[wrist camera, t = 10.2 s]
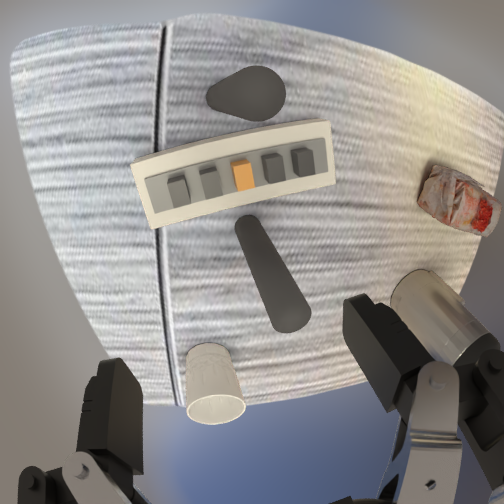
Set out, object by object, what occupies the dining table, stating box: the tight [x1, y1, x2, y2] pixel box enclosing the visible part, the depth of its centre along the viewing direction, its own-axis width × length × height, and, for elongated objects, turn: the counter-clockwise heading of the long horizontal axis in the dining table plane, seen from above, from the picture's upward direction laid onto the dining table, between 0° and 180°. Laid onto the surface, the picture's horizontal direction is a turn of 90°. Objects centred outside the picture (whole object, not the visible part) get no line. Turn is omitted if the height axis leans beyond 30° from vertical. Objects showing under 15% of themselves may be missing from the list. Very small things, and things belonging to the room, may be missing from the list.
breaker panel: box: [130, 118, 336, 230], centre depth 29 cm, size 20×7×5 cm, turn 101°
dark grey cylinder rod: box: [235, 215, 311, 333], centre depth 28 cm, size 3×3×16 cm
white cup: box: [186, 343, 246, 424], centre depth 40 cm, size 8×8×10 cm
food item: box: [417, 165, 502, 237], centre depth 35 cm, size 14×8×10 cm, turn 79°
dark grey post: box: [206, 66, 286, 121], centre depth 20 cm, size 3×3×16 cm
